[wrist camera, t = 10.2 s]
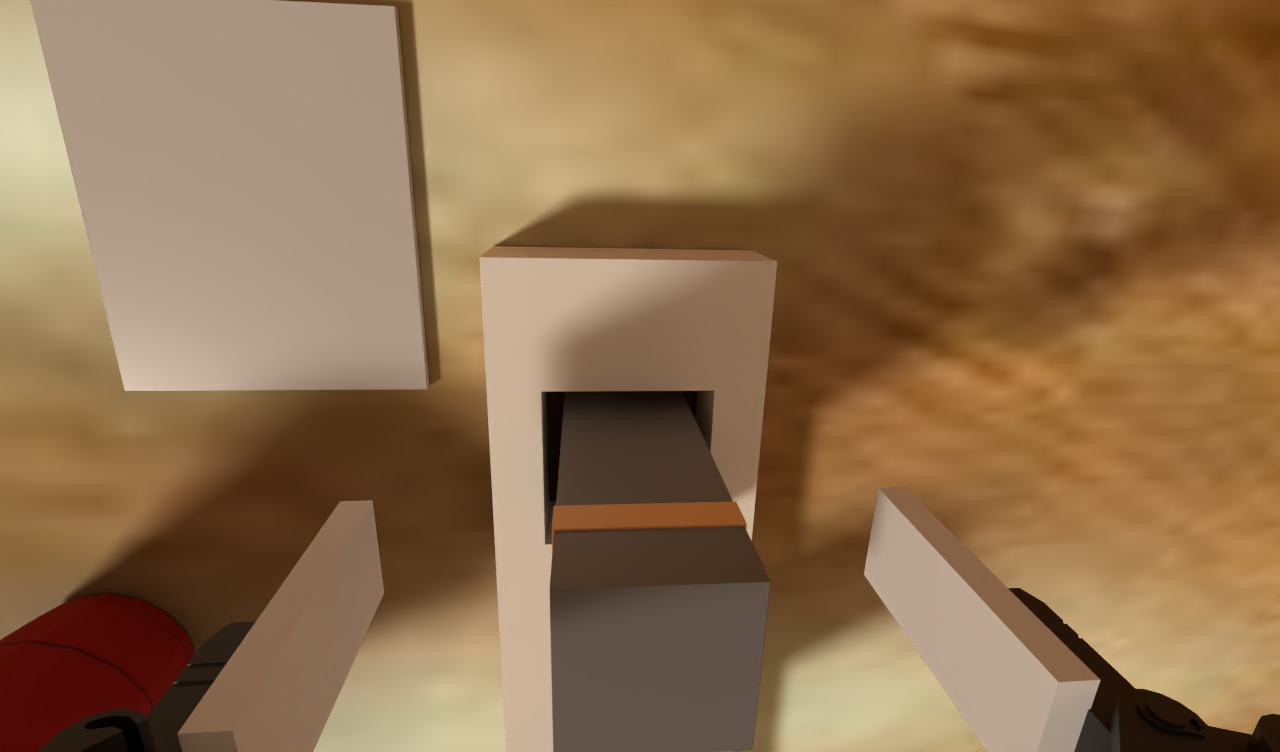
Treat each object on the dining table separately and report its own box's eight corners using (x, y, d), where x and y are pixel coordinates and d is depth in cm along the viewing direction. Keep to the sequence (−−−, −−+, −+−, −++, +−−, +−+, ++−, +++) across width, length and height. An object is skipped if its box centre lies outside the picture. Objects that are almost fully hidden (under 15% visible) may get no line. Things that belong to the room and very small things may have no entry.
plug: (564, 382, 23) (547, 587, 11) (679, 381, 23) (772, 579, 12) (565, 486, 24) (550, 763, 13) (674, 484, 25) (754, 751, 13)
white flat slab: (39, -9, 18) (27, -12, 17) (398, 9, 19) (394, 6, 18) (132, 386, 22) (125, 390, 21) (429, 385, 22) (427, 389, 22)
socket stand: (493, 246, 21) (310, 393, 7) (752, 250, 22) (1064, 388, 8) (519, 809, 29) (460, 1416, 15) (708, 797, 30) (823, 1359, 16)
